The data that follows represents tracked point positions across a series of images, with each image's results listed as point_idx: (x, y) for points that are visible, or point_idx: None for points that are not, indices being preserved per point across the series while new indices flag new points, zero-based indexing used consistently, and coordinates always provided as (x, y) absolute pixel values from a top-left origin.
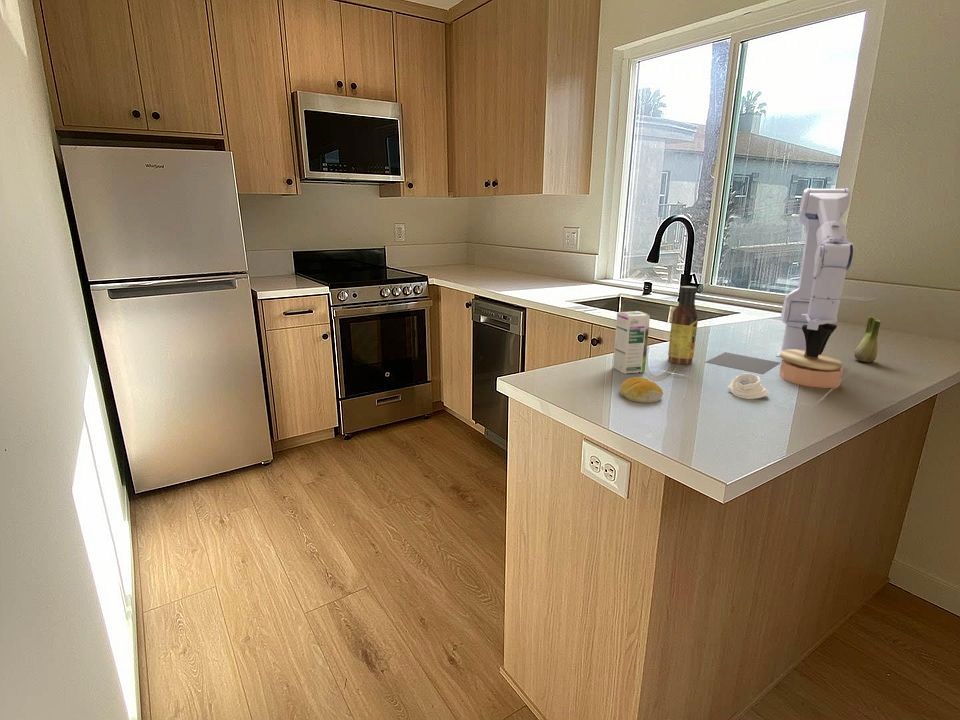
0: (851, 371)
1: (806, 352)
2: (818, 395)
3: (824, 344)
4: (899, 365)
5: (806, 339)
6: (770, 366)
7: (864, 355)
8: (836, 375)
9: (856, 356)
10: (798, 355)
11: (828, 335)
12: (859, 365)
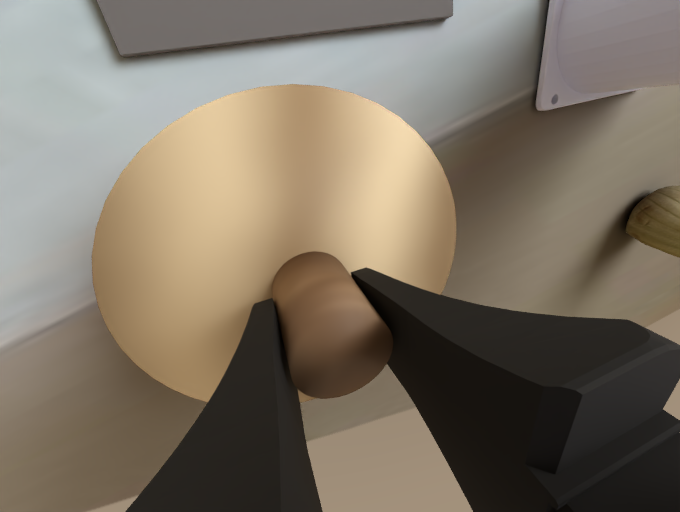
0: (516, 251)
1: (250, 315)
2: (123, 369)
3: (396, 373)
4: (631, 275)
5: (209, 413)
6: (333, 8)
7: (650, 227)
8: None
9: (652, 200)
10: (277, 230)
11: (443, 452)
12: (591, 228)
